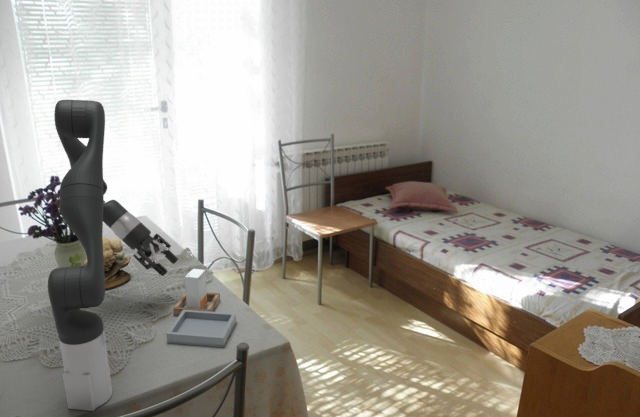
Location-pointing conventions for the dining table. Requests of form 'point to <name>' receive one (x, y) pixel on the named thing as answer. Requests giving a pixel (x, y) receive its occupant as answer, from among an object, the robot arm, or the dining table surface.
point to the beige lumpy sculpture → (114, 264)
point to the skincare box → (196, 289)
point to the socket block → (181, 303)
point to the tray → (202, 328)
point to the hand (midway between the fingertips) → (170, 267)
